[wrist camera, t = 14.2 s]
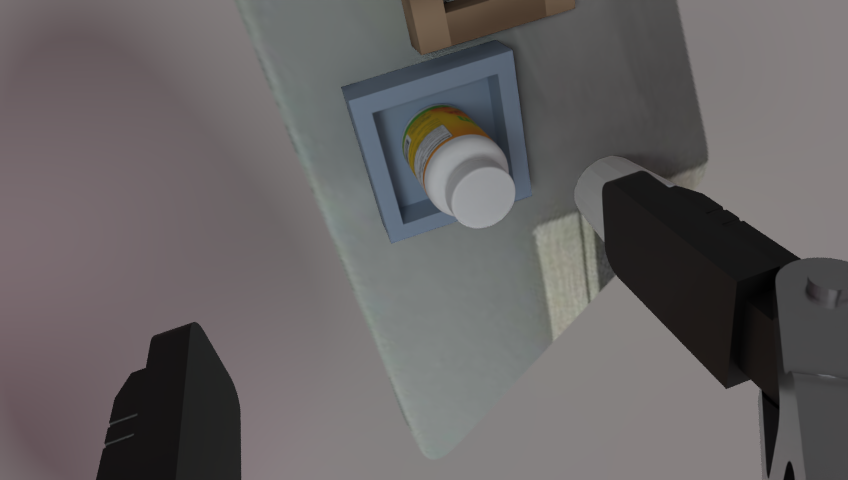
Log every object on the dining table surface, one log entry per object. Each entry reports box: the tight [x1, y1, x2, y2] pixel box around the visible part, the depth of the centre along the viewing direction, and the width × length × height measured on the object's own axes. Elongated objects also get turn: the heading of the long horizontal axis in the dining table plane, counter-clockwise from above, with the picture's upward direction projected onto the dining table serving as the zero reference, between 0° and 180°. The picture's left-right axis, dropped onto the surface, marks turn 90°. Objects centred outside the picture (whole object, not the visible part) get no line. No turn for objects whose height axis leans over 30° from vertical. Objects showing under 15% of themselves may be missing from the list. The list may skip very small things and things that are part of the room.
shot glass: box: [574, 156, 678, 242], centre depth 47 cm, size 7×7×7 cm
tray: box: [341, 40, 532, 244], centre depth 42 cm, size 11×11×3 cm
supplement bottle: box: [401, 104, 515, 228], centre depth 39 cm, size 5×5×10 cm
